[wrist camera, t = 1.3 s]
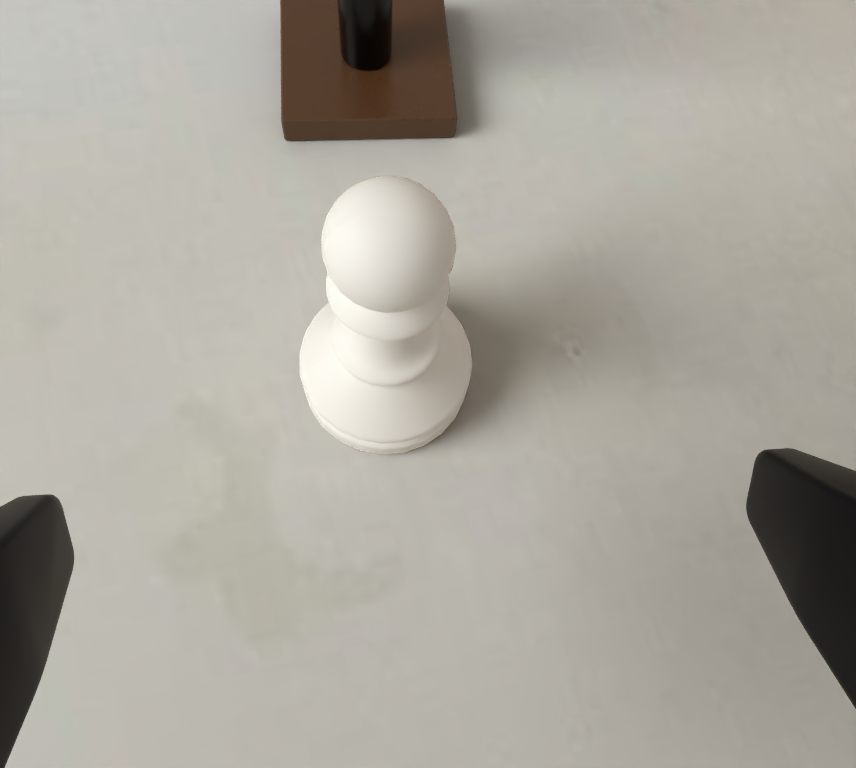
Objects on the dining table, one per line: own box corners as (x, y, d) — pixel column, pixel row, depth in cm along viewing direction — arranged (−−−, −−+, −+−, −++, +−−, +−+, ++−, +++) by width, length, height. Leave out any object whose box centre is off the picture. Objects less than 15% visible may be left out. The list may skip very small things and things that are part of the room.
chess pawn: (446, 293, 23) (483, 89, 15) (483, 438, 22) (549, 299, 13) (291, 319, 23) (240, 121, 14) (318, 472, 21) (279, 348, 13)
